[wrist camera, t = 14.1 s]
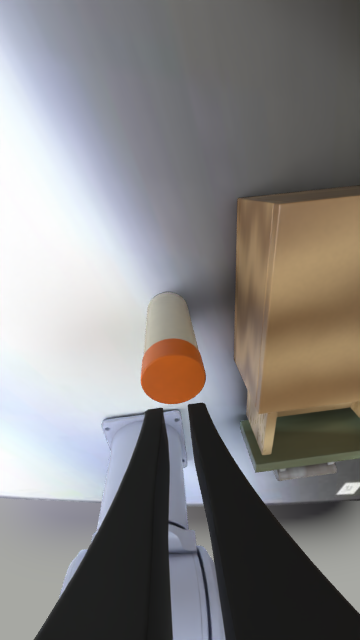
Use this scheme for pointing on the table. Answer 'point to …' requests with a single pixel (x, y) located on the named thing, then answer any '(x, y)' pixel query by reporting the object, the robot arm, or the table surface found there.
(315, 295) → the cabinet
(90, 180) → the table surface
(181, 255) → the table surface
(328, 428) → the drawer
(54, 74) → the table surface
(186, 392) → the glue stick
